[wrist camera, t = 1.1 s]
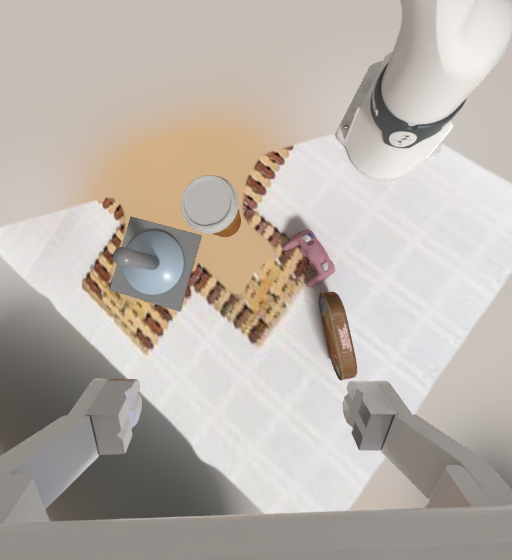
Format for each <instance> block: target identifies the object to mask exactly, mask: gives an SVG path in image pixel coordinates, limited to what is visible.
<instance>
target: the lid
mask: <svg viewBox="0 0 512 560" xmlns="http://www.w3.org/2000/svg"><path fill="white" fill-rule="evenodd" d="M113 259H114V261H115V263H116V264H118V265H123V270H124V274H125V277H126V279H127V281H128V282H129V283H130V285H131V286H132V287H133V288H135V289H136V290H137V291H139V292H141V293H144V294H150V295H155V294H162V293H165V292H167V291H169V290H170V289H172V288H173V287H174V286H175V285H176V284H177V283H178V281H179V280H180V278H181V276H182V274H183V271H184V265H185V259H184V254H183V251H182V248H181V246H180V245H179V243H178V242H177V241H176V240H175V239H174V238H173V237H171V236H170V235H168V234H166V233H163V232H159V231H149V232H145V233H142V234H140V235H138V236H137V237H135V238H134V239H133V240H132V241H131V242H130V244H129V245H128V247H127V248H124V247H119V248H117V249H116V250H115V251H114V254H113Z"/></svg>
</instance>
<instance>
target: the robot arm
mask: <svg viewBox="0 0 512 560" xmlns="http://www.w3.org/2000/svg"><path fill="white" fill-rule="evenodd" d="M401 5H402V23H401V28H400V32H399V35H398V38H397V42H396V44H395V48H394V50H393V52H392V53H390V54H388V55H387V56H385V58H384V60H383V61H381V62H377V63H375V64H372V65H371V66H370V67H369V69H368V71H367V73H366V75H365V76H364V79H363V81H362V83H361V85H360V87H359V89H358V91H357V93H356V95H355V97H354V99H353V101H352V103H351V104H350V107H349V108H348V110H347V112H346V114H345V116H344V118H343V120H342V122H341V124H340V126H339V128H338V131H337V133H336V136H337V138H338V140H339V141H340V142H341V143H342V144H343V145H344V146H345V147H346V149H347V152H348V155H349V157H350V159H351V161H352V163H353V164H354V165H355V167H356V168H357V169H358V170H360V171H361V172H362V173H364V174H365V175H367V176H370V177H373V178H376V179H394V178H398V177H401V176H403V175H406V174H407V173H409V172H411V171H412V170H413V169H414V168H416V167H417V166H418V165H419V164H420V163H422V162H424V161H427V160H430V159H433V158H435V157H436V156H437V155H438V154H439V153H440V151H441V142H442V140H443V139H444V137H445V136H446V135H447V134H448V133H449V132H450V130H451V128H452V127H453V124H452V119H453V118H454V117H455V116H456V115H457V113H458V112H459V110H460V109H461V108H462V106H463V104H464V103H465V101H466V99H467V97H468V96H469V95H470V94H471V92H472V91H473V90H474V89H475V88H476V87H477V86H478V85H479V84H480V83H481V82H482V81H483V79H484V78H485V77H486V76H487V75H488V74H489V73H490V72H491V71H492V70H493V68H494V67H495V66H496V65H497V64H498V62H499V61H500V60H501V58H502V56H503V54H504V53H505V50H506V49H507V46H508V44H509V41H510V39H511V36H512V5H511V2H510V0H401ZM345 126H346V127H348V128H347V129H346V128H344V127H345ZM139 389H140V384H139V380H137V379H98V378H95V379H94V380H92V381H91V383H90V384H89V385H88V387H87V388H86V390H85V391H84V393H83V394H82V396H81V397H80V399H79V400H78V401H77V403H76V404H75V406H74V407H73V409H72V410H71V412H70V413H69V414H68V416H62V417H61V418H59V419H58V420H56V421H54V422H53V423H51V424H50V425H48V426H47V427H45V428H44V429H42V430H40V431H39V432H37V433H36V434H34V435H33V436H31V437H30V438H28V439H26V440H25V441H23V442H22V443H20V444H19V445H17V446H16V447H14V448H12V449H11V450H9V451H8V452H6V453H5V454H3V455H2V456H0V560H512V490H511V489H510V487H509V486H508V485H507V484H506V483H505V482H504V480H503V479H502V478H501V477H500V476H499V475H498V474H497V472H496V471H495V470H494V469H493V468H492V466H491V465H490V464H489V463H488V462H486V461H485V460H483V459H482V458H480V457H479V456H477V455H475V454H474V453H473V452H471V451H470V450H468V449H467V448H465V447H463V446H462V445H461V444H459V443H458V442H456V441H455V440H453V439H451V438H450V437H449V436H447V435H446V434H444V433H443V432H441V431H440V430H438V429H437V428H435V427H434V426H432V425H431V424H429V423H428V422H426V421H425V420H423V419H421V418H420V417H419V416H417V415H412V413H411V412H410V411H409V409H408V408H407V407H406V405H405V404H404V402H403V401H402V400H401V398H400V397H399V395H398V394H397V393H396V391H395V390H394V388H393V387H392V386H391V384H390V383H389V382H387V381H350V382H349V383H348V385H347V391H348V394H347V395H346V396H345V397H344V401H343V412H344V416H345V419H346V421H347V423H348V424H349V425H350V426H352V427H353V431H352V435H353V437H354V440H355V442H356V444H357V447H358V449H359V450H382V451H381V452H382V453H383V454H384V455H385V456H386V457H387V458H388V459H389V460H390V461H391V462H392V463H393V464H394V465H395V466H396V467H397V468H398V469H399V470H400V471H401V472H402V473H403V474H404V475H405V476H406V477H407V478H408V479H409V480H410V481H411V482H412V483H413V484H414V485H415V486H416V487H417V488H418V489H419V490H420V491H421V492H422V493H423V494H424V495H425V496H426V497H427V498H428V501H427V503H426V505H425V507H424V508H413V509H385V510H360V511H359V510H358V511H330V512H303V513H276V514H250V515H223V516H198V517H197V516H196V517H166V518H140V519H139V518H138V519H111V520H85V521H84V520H83V521H55V522H50V520H49V518H48V515H47V513H46V510H45V509H46V508H47V507H48V506H49V505H50V504H51V503H52V502H53V501H54V500H55V499H56V498H57V497H58V496H59V495H60V494H61V493H62V492H63V491H64V490H65V489H66V488H67V487H68V486H69V485H70V484H71V483H72V482H73V481H74V480H75V479H76V478H77V477H78V476H79V475H80V474H81V473H82V472H83V471H84V470H85V469H86V468H87V467H88V466H89V465H90V464H91V463H93V462H94V460H95V459H97V458H98V457H99V455H105V454H125V452H126V450H127V447H128V445H129V442H130V440H131V437H132V430H131V428H132V427H134V426H135V425H136V424H137V422H138V419H139V417H140V412H141V405H142V401H141V396H140V395H139V394H138V391H139Z"/></svg>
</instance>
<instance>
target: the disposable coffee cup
mask: <svg viewBox="0 0 512 560" xmlns="http://www.w3.org/2000/svg"><path fill="white" fill-rule="evenodd" d="M238 205H239V202H238V196H237V193H236V191H235V189H234V187H233V186H232V184H230V183H229V182H228V181H227V180H225V179H224V178H221V177H218V176H213V175H208V176H207V175H204V176H201V177H198V178H196V179H194V180H193V181H192V182H191V183H190V184H189V185H188V186H187V187H186V189H185V191H184V193H183V195H182V200H181V206H182V213H183V216H184V218H185V220H186V222H187V223H188V224H189V226H190V227H192V228H193V229H194V230H196V231H198V232H201V233H207V234H211V233H212V234H215V235H218V236H222V237H229V236H231V235H233V234H235V233H236V232H237V231H238V229H239V227H240V224H241V218H240V214H239V210H238Z"/></svg>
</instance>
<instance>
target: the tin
mask: <svg viewBox="0 0 512 560" xmlns="http://www.w3.org/2000/svg"><path fill="white" fill-rule="evenodd" d="M319 306H320V312H321V317H322V322H323V326H324V331H325V336H326V340H327V345H328V350H329V354H330V358H331V361H332V365H333V367H334V370H335V372H336V375H337V377H338V378H339V380H343V379H349V378H353V377H355V376H356V374H357V364H356V358H355V353H354V348H353V344H352V339H351V335H350V330H349V326H348V321H347V317H346V313H345V309H344V306H343V303H342V301H341V299H340V297H339V296H338V294H337V293H335V292H328V293H320V295H319Z"/></svg>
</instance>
